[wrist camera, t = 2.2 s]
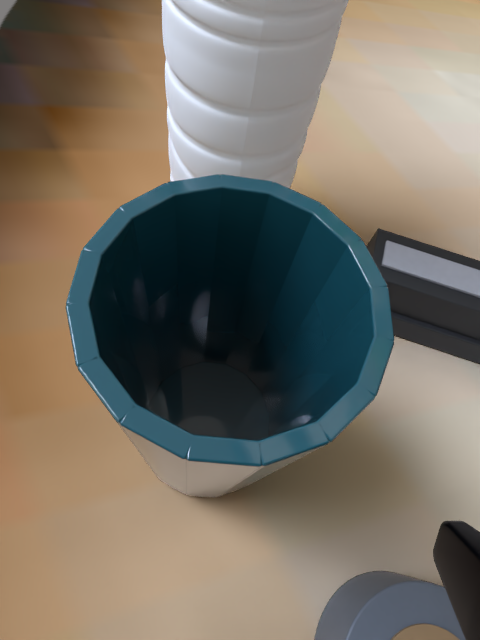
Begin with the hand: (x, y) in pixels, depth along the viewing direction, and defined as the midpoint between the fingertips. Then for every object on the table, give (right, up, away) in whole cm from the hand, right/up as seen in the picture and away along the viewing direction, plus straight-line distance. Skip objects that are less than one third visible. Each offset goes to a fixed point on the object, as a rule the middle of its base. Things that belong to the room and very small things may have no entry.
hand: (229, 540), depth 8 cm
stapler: (+11, +5, +16) cm, 20 cm away
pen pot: (-1, -1, +12) cm, 12 cm away
